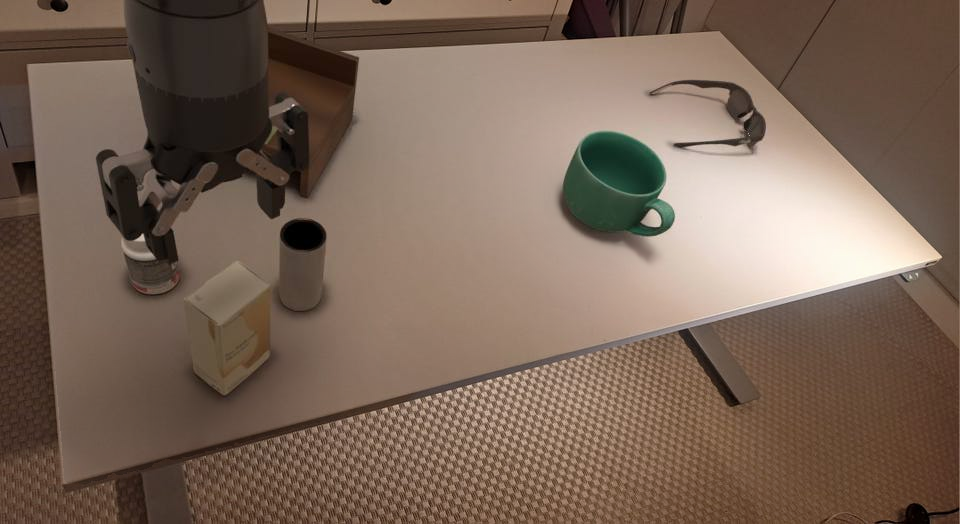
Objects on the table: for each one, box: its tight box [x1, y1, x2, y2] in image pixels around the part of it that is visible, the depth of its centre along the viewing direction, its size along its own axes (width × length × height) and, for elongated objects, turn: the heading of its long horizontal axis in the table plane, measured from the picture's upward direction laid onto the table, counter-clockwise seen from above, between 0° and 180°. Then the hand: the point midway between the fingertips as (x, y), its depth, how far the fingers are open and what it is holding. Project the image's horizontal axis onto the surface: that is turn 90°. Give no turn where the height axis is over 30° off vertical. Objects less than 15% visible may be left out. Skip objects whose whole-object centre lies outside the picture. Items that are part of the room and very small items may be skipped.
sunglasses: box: [649, 79, 767, 149], centre depth 113 cm, size 16×17×5 cm
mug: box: [562, 130, 676, 238], centre depth 89 cm, size 17×13×10 cm
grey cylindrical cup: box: [278, 217, 328, 312], centre depth 69 cm, size 4×4×10 cm
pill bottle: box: [120, 234, 181, 295], centre depth 67 cm, size 5×5×8 cm
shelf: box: [261, 26, 360, 199], centre depth 84 cm, size 17×18×10 cm
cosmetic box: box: [183, 260, 271, 396], centre depth 61 cm, size 6×4×12 cm
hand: (220, 232), depth 51 cm, fingers open, 8 cm apart
